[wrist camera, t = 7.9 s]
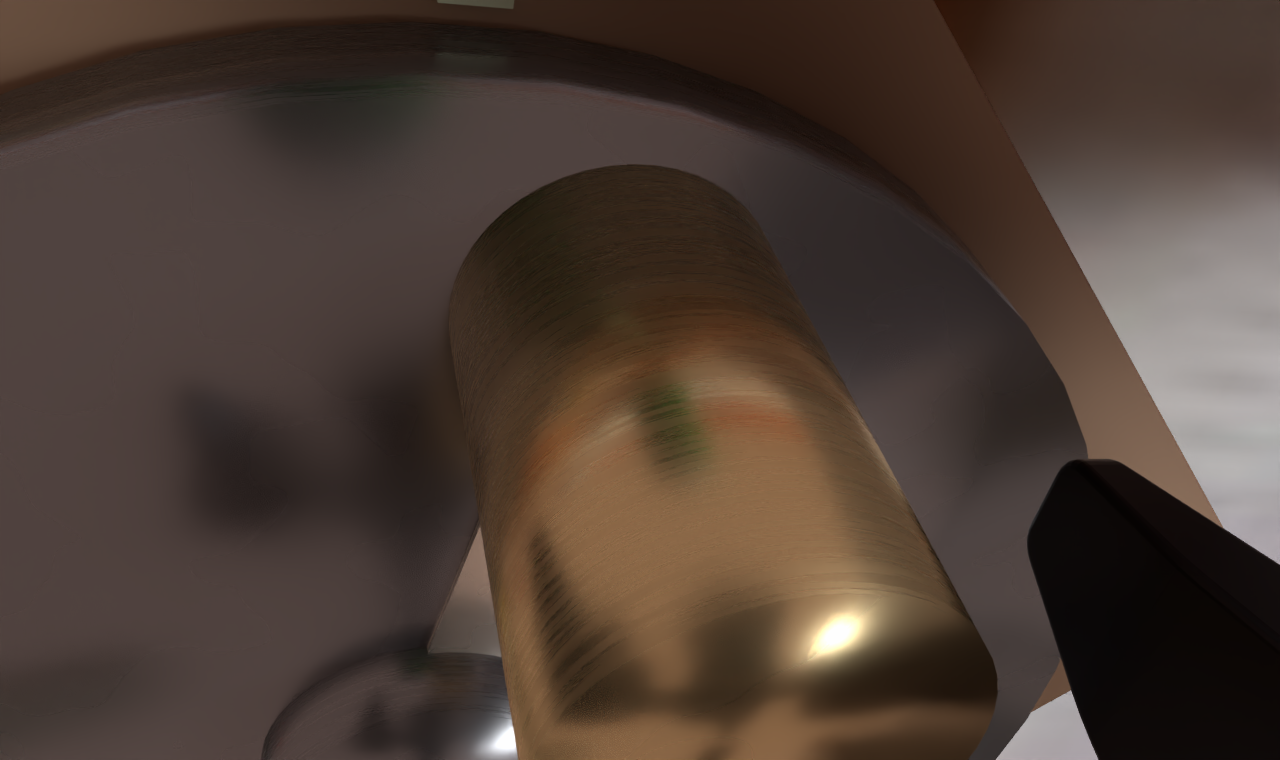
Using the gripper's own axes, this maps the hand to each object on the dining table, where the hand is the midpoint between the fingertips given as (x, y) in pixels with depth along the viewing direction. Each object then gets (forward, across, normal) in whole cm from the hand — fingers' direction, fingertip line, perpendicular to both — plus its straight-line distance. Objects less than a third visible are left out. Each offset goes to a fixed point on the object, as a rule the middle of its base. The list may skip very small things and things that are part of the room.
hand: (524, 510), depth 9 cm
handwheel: (+5, 0, +7) cm, 9 cm away
